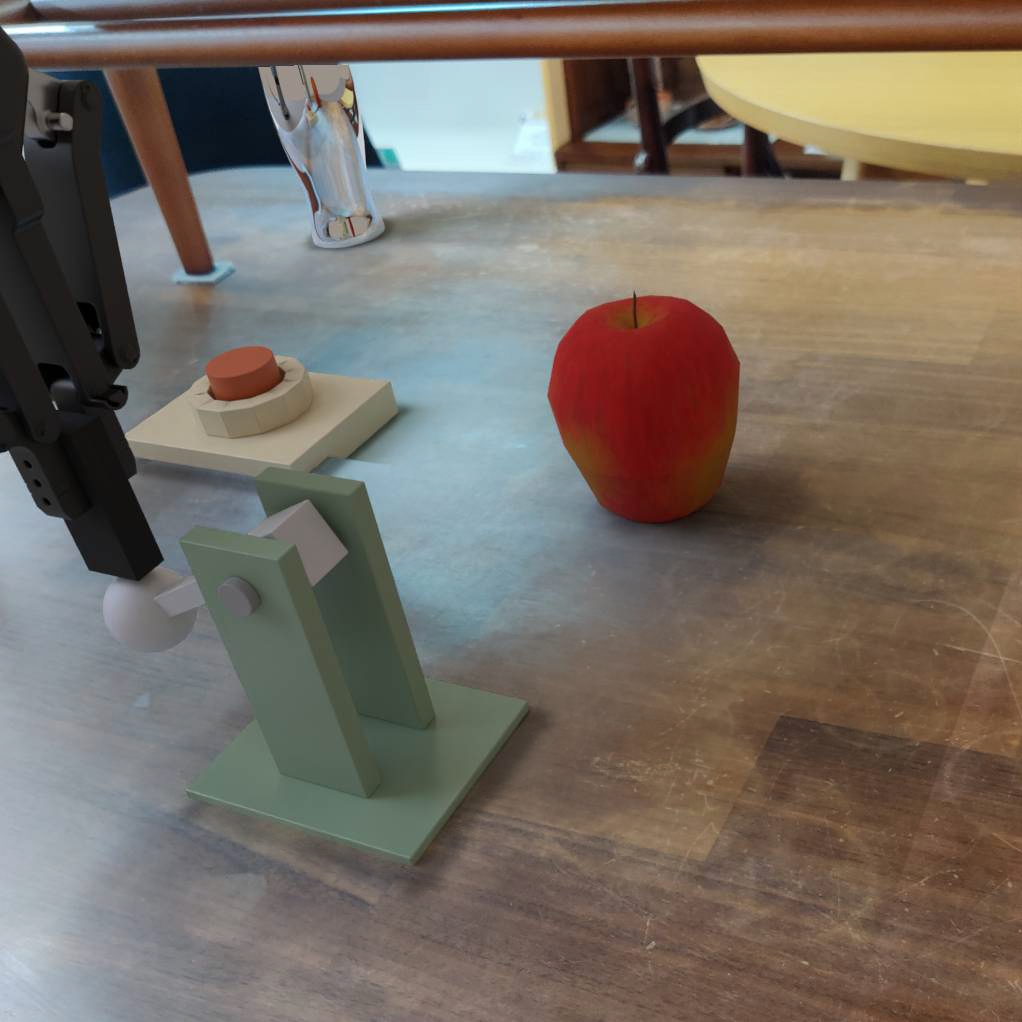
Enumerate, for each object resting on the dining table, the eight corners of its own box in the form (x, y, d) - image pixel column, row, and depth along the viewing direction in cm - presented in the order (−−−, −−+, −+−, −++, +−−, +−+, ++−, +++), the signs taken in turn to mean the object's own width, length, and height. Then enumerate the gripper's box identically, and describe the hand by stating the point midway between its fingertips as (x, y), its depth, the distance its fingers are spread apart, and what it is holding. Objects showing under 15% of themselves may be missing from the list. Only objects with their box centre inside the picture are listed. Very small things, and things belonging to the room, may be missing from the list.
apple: (749, 459, 65) (734, 243, 58) (750, 554, 58) (733, 323, 51) (581, 470, 66) (544, 260, 59) (562, 566, 60) (518, 341, 52)
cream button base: (132, 469, 73) (106, 410, 70) (238, 392, 80) (217, 335, 77) (301, 498, 68) (280, 436, 65) (399, 412, 75) (383, 353, 72)
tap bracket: (195, 813, 49) (64, 558, 41) (326, 674, 55) (234, 428, 47) (419, 883, 45) (322, 613, 37) (534, 724, 51) (472, 463, 43)
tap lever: (128, 677, 50) (68, 609, 49) (186, 625, 52) (130, 559, 51) (311, 613, 42) (245, 529, 40) (370, 554, 44) (310, 473, 43)
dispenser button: (201, 400, 71) (190, 373, 70) (244, 369, 74) (234, 343, 73) (253, 407, 69) (243, 380, 68) (295, 375, 72) (286, 348, 71)
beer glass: (362, 214, 105) (312, 26, 95) (406, 229, 100) (358, 34, 91) (293, 241, 101) (234, 49, 92) (335, 257, 97) (278, 58, 88)
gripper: (-351, -83, 27) (74, 687, 42) (69, -172, 36) (299, 491, 51) (-523, -67, 30) (-69, 648, 45) (-96, -152, 39) (167, 469, 54)
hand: (126, 564), depth 48 cm, fingers closed
